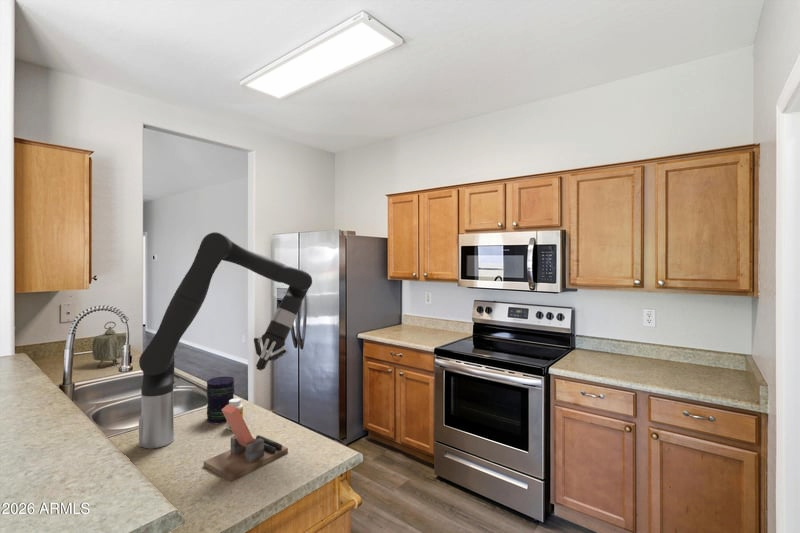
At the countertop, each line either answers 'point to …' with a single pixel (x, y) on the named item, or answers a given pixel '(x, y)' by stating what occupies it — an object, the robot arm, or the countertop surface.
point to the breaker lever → (237, 425)
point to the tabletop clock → (108, 346)
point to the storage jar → (219, 397)
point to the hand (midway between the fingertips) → (259, 369)
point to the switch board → (245, 457)
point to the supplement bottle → (235, 403)
